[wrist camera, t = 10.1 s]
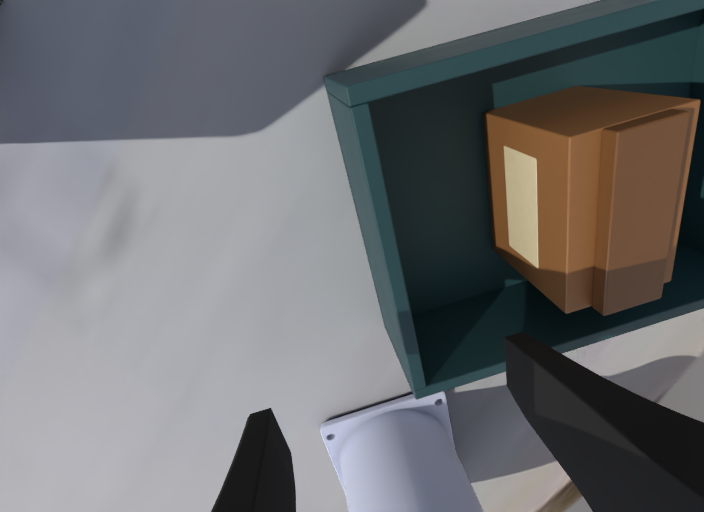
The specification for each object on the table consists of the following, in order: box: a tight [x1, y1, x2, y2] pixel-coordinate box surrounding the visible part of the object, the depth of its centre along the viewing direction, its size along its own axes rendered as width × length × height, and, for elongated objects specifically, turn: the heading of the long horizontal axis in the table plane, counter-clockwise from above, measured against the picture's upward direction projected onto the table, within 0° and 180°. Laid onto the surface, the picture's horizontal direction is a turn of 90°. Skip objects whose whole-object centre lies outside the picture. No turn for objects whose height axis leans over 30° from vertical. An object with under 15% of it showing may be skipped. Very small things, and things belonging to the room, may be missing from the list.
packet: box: [482, 86, 701, 316], centre depth 17 cm, size 4×7×7 cm, turn 14°
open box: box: [323, 0, 704, 400], centre depth 18 cm, size 13×17×6 cm
